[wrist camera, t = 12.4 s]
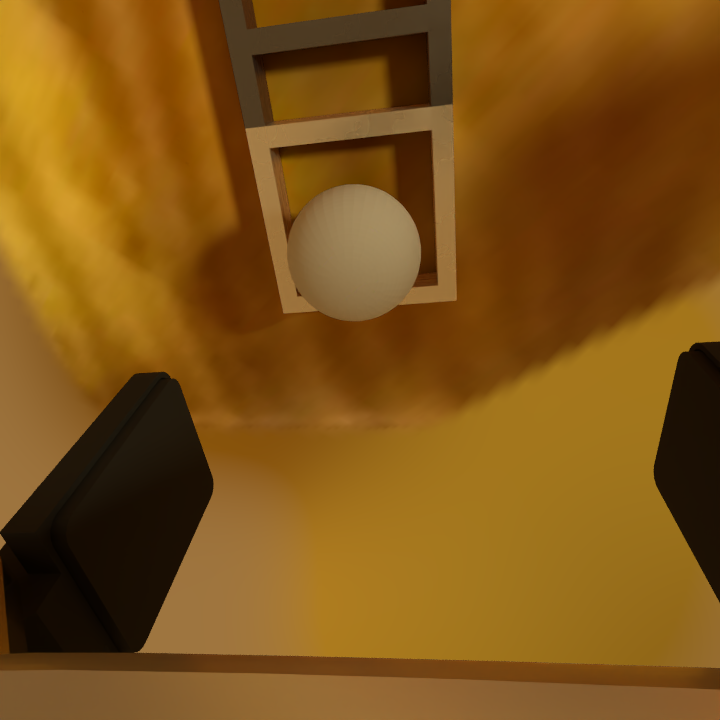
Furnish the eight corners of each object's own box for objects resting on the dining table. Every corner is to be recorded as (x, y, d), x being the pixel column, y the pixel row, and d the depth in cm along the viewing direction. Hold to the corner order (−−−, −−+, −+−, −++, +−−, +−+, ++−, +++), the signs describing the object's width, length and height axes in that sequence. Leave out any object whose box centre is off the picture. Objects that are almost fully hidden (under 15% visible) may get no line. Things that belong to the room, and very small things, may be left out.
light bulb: (434, 188, 28) (454, 254, 20) (380, 277, 31) (377, 367, 23) (338, 131, 27) (315, 175, 18) (291, 229, 30) (252, 306, 21)
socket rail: (440, -286, 19) (443, -318, 18) (453, 286, 31) (456, 300, 29) (184, -234, 21) (165, -260, 19) (289, 299, 32) (283, 313, 30)
